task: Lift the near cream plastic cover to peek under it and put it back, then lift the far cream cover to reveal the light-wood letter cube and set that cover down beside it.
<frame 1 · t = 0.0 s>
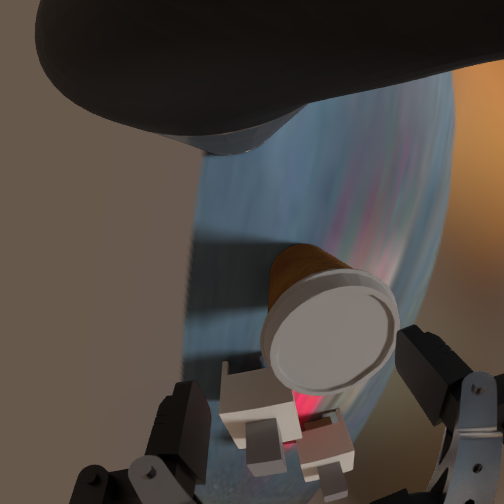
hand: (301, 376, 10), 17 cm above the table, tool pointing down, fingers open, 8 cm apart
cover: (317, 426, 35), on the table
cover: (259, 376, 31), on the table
letter cube: (317, 426, 35), on the table
disposable coffee cup: (301, 273, 27), on the table
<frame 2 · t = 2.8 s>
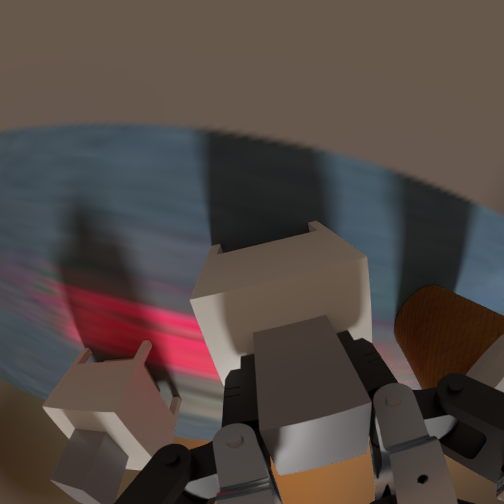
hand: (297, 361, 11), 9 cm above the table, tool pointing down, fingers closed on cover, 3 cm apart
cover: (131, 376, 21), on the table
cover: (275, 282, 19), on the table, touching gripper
disposable coffee cup: (422, 317, 21), on the table
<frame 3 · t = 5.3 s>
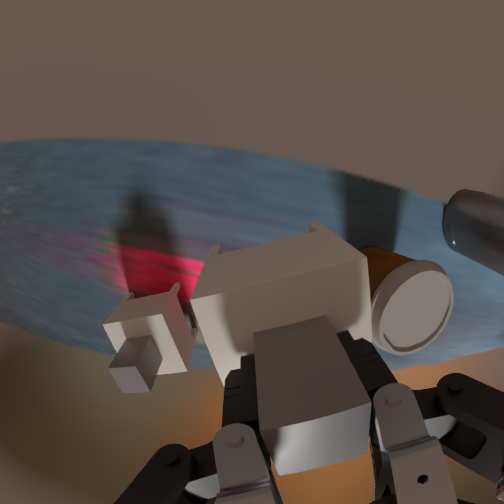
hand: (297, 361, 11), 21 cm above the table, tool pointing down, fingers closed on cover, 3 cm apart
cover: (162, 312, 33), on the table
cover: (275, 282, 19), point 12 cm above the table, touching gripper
disposable coffee cup: (368, 270, 33), on the table
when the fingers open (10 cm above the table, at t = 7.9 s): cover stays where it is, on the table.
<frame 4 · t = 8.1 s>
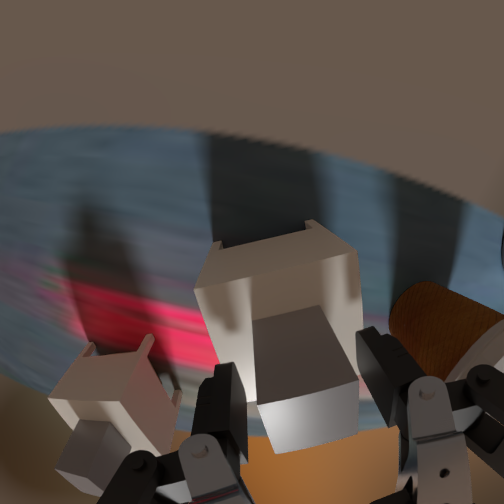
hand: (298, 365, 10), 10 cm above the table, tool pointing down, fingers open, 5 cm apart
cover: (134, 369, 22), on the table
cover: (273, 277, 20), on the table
disposable coffee cup: (416, 312, 22), on the table
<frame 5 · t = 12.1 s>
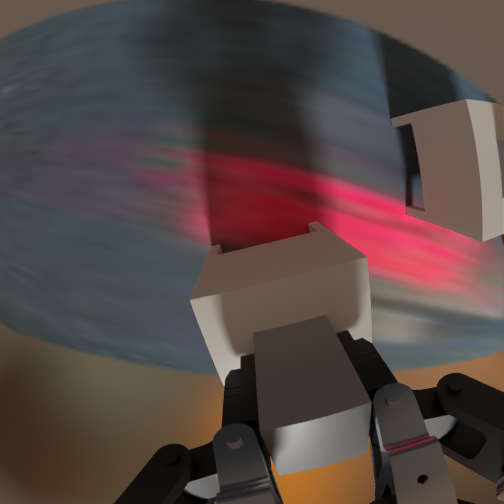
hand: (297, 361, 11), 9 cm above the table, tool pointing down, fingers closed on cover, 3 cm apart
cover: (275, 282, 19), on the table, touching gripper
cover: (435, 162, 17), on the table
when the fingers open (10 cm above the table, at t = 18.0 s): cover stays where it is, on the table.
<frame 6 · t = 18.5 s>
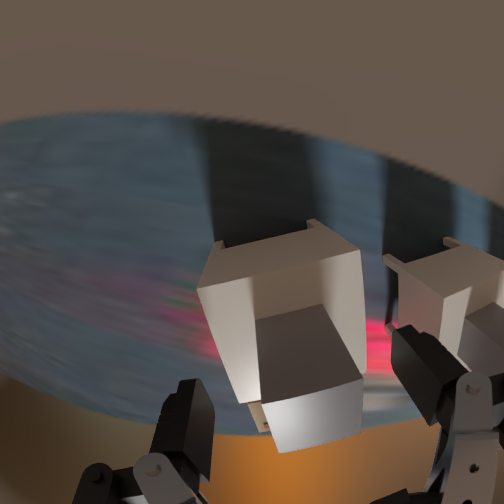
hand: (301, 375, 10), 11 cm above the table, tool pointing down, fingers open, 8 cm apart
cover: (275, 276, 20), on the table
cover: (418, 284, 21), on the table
letter cube: (274, 382, 23), on the table
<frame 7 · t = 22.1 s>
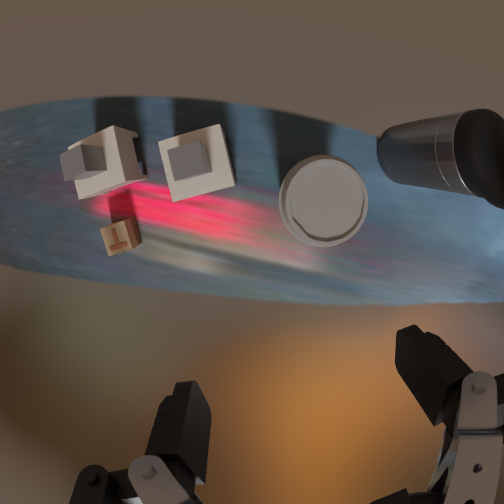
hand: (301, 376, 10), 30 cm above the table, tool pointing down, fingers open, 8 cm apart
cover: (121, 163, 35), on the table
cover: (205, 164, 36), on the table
letter cube: (127, 232, 38), on the table
disposable coffee cup: (302, 193, 38), on the table
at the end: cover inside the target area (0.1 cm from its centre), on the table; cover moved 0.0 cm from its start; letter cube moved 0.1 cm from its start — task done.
